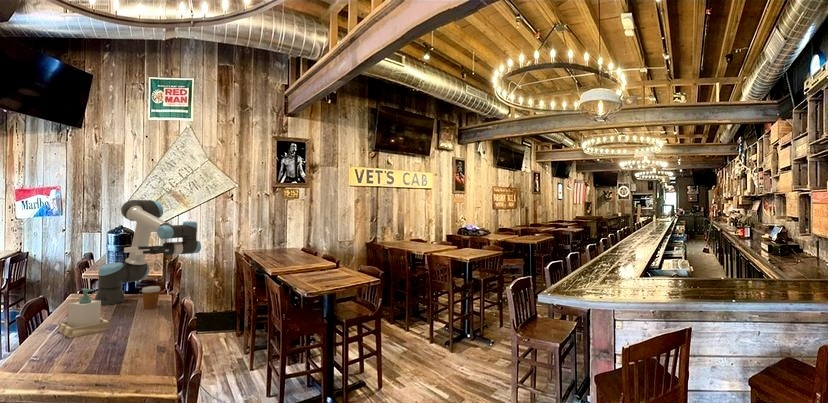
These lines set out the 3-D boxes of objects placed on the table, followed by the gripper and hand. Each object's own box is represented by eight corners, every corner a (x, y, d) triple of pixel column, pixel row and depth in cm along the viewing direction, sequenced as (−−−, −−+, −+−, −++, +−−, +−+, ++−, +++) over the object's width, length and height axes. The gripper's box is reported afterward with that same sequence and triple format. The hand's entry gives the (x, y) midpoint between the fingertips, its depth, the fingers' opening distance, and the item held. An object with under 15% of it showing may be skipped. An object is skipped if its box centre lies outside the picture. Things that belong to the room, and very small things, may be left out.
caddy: (58, 331, 186) (58, 322, 186) (97, 324, 198) (97, 316, 198) (69, 338, 177) (69, 329, 177) (109, 330, 190) (109, 321, 190)
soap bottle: (81, 332, 183) (83, 291, 183) (67, 330, 185) (69, 289, 185) (100, 326, 191) (102, 287, 191) (86, 325, 193) (88, 286, 193)
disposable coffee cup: (152, 310, 226) (153, 289, 226) (136, 309, 226) (137, 288, 226) (163, 306, 235) (164, 286, 235) (148, 305, 235) (149, 285, 236)
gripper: (182, 257, 220) (140, 260, 202) (161, 252, 233) (119, 256, 216) (183, 243, 220) (140, 246, 202) (162, 240, 234) (120, 242, 216)
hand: (129, 251), depth 209 cm, fingers open, 13 cm apart
